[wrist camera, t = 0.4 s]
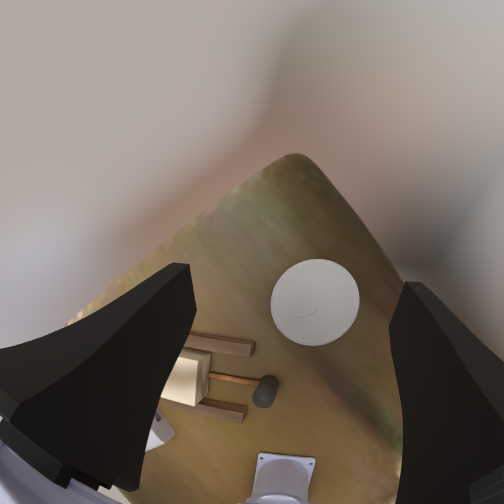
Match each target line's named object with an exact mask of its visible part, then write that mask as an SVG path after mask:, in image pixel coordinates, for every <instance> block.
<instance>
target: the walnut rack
mask: <svg viewBox="0 0 504 504" xmlns="http://www.w3.org/2000/svg"><path fill="white" fill-rule="evenodd" d="M254 344H255V342H254V341H246V340H239V339H232V338H226V337H220V336H214V335H208V334H202V333H196V332H191V331H190V333H189V336H188V338H187V340H186V342H185V344H184V346H186V347H191V348H196V349H201V350H206V351H212V352H217V353H223V354H229V355H235V356H242V357H249V358H250V357H251V356H252V355H253V353H254ZM159 403H160V404H163V405H166V406H170V407H173V408H177V409H180V410H184V411H188V412H191V413H195V414H199V415H204V416H208V417H212V418H217V419H221V420H226V421H231V422H237V423H243V421H244V419H245V417H246V412H247V406H244V405H238V404H232V403H227V402H222V401H217V400H212V399H208V398H203V399H202V400H201V401H200V402H199V403H198V404H197V405H195V406H191V405H187V404H183V403H180V402H176V401H172V400H169V399H165V398H162V397H160V400H159Z"/></svg>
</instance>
